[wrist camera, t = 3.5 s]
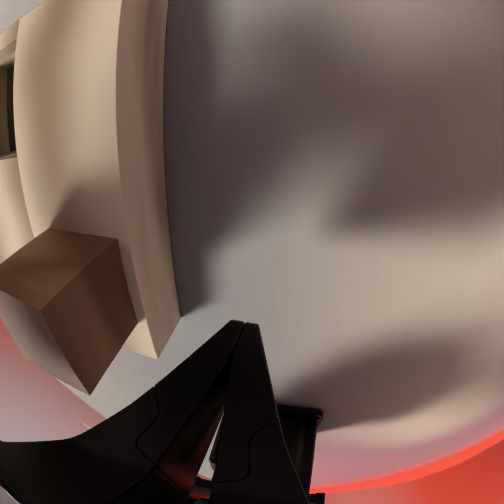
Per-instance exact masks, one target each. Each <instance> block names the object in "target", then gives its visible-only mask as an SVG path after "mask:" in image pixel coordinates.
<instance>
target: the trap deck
mask: <svg viewBox="0 0 504 504" xmlns="http://www.w3.org/2000/svg"><path fill="white" fill-rule="evenodd" d="M168 2H169V0H47V1H45V2H44V3H42V4H41V5H39V6H38V7H36V8H35V9H33V10H32V11H31V12H29V13H28V14H26V15H25V16H24V17H22V18H21V19H20V20H18V21H17V22H16V23H14V24H13V25H12V26H10V27H9V28H8V29H7V30H5V31H4V32H3V33H2V34H1V35H0V264H1V263H2V262H4V261H5V260H6V259H7V258H9V257H10V256H11V255H12V254H14V253H15V252H16V251H18V250H19V249H20V248H22V247H23V246H24V245H26V244H27V243H28V242H30V241H31V240H33V239H34V238H35V237H37V236H38V235H40V234H41V233H43V232H44V231H45V230H47V229H48V228H50V229H57V230H63V231H70V232H76V233H83V234H90V235H96V236H103V237H110V238H117V239H118V244H119V249H120V254H121V259H122V263H123V268H124V272H125V276H126V281H127V285H128V289H129V293H130V297H131V300H132V304H133V308H134V311H135V315H136V318H137V322H138V324H137V325H136V327H135V328H134V330H133V331H132V333H131V334H130V336H129V337H128V338H127V340H126V341H125V343H124V344H123V346H122V347H121V348H124V349H126V350H129V351H132V352H135V353H139V354H142V355H145V356H148V357H151V358H155V359H158V358H159V356H160V354H161V352H162V351H163V349H164V347H165V345H166V343H167V342H168V340H169V338H170V336H171V335H172V333H173V331H174V329H175V327H176V326H177V324H178V322H179V320H180V319H181V318H180V311H179V305H178V298H177V291H176V284H175V277H174V269H173V260H172V252H171V243H170V233H169V222H168V211H167V198H166V182H165V164H164V135H163V81H164V53H165V36H166V23H167V12H168Z"/></svg>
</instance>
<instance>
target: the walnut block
mask: <svg viewBox="0 0 504 504" xmlns="http://www.w3.org/2000/svg"><path fill="white" fill-rule="evenodd" d="M0 318H1V320H2V321H3V323H4V325H5V327H6V328H7V330H8V332H9V334H10V335H11V337H12V338H13V340H14V342H15V344H16V345H17V347H18V348H19V350H20V351H21V353H22V354H23V356H24V357H25V358H26V359H28V360H29V361H31V362H32V363H33V364H35V365H37V366H38V367H40V368H41V369H43V370H45V371H46V372H48V373H49V374H51V375H53V376H55V377H56V378H58V379H60V380H61V381H63V382H65V383H67V384H69V385H70V386H72V387H74V388H76V389H78V390H80V391H82V392H84V393H86V394H88V395H91V393H92V392H93V390H94V389H95V387H96V386H97V384H98V382H99V381H100V379H101V378H102V376H103V375H104V373H105V372H106V370H107V368H108V367H109V365H110V364H111V362H112V361H113V359H114V358H115V356H116V355H117V353H118V352H119V350H120V349H121V347H122V346H123V344H124V343H125V341H126V340H127V338H128V337H129V336H130V334H131V333H132V331H133V330H134V328H135V327H136V325H137V324H138V322H137V318H136V315H135V311H134V308H133V304H132V300H131V297H130V293H129V289H128V285H127V281H126V276H125V272H124V268H123V263H122V259H121V254H120V249H119V244H118V239H117V238H110V237H103V236H96V235H90V234H83V233H76V232H70V231H63V230H57V229H50V228H48V229H47V230H45V231H44V232H43V233H41V234H40V235H38V236H37V237H35V238H34V239H33V240H31V241H30V242H28V243H27V244H26V245H24V246H23V247H22V248H20V249H19V250H18V251H16V252H15V253H14V254H12V255H11V256H10V257H9V258H7V259H6V260H5V261H4V262H2V263H1V264H0Z"/></svg>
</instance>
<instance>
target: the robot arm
mask: <svg viewBox="0 0 504 504" xmlns="http://www.w3.org/2000/svg"><path fill="white" fill-rule="evenodd" d="M223 412H224V414H223ZM222 415H223V416H222ZM221 417H222V420H221ZM220 420H221V423H220V426H219V429H218V432H217V435H216V439H215V442H214V445H213V448H212V451H211V454H210V457H209V461H210V464H211V467H212V469H213V470H214V473H213V476H212V480H211V481H209V480H205V479H201V478H200V477H198V476H197V474H198V472H199V470H200V467H201V465H202V463H203V460H204V458H205V456H206V453H207V451H208V448H209V446H210V444H211V441H212V439H213V437H214V434H215V432H216V429H217V427H218V424H219V422H220ZM322 420H323V412H322V411H319V410H310V409H301V408H293V407H285V406H278V405H276V402H275V397H274V393H273V388H272V384H271V379H270V374H269V370H268V365H267V360H266V356H265V351H264V347H263V342H262V337H261V333H260V328H259V325H258V324H255V323H249V322H246V323H244V322H243V321H238V320H230V321H229V322H228V323H227V324H226V325H225V326H224V327H222V328H221V329H220V330H219V331H218V332H217V333H216V334H215V335H213V336H212V337H211V338H210V339H209V340H208V341H206V342H205V343H204V344H203V345H202V346H201V347H200V348H198V349H197V350H196V351H195V352H194V353H193V354H191V355H190V356H189V357H188V358H187V359H186V360H184V361H183V362H182V363H181V364H180V365H179V366H177V367H176V368H175V369H174V370H173V371H171V372H170V373H169V374H168V375H167V376H165V377H164V378H163V379H162V380H161V381H159V382H158V383H157V384H156V385H155V387H152V388H151V389H150V390H148V391H147V392H146V393H145V394H143V395H142V396H141V397H139V398H138V399H137V400H136V401H134V402H133V403H132V404H130V405H129V406H127V407H126V408H124V409H123V410H121V411H119V412H118V413H116V414H115V415H113V416H111V417H110V418H108V419H106V420H105V421H103V422H101V423H100V424H98V425H96V426H94V427H93V428H91V429H89V430H87V431H86V432H84V433H82V434H80V435H77V436H75V437H72V438H69V439H64V440H53V441H38V442H3V441H1V440H0V504H324V501H325V493H316V494H309V490H310V483H311V476H312V468H313V459H314V450H315V440H316V430H317V428H318V426H319V425H320V423H321V421H322Z"/></svg>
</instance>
